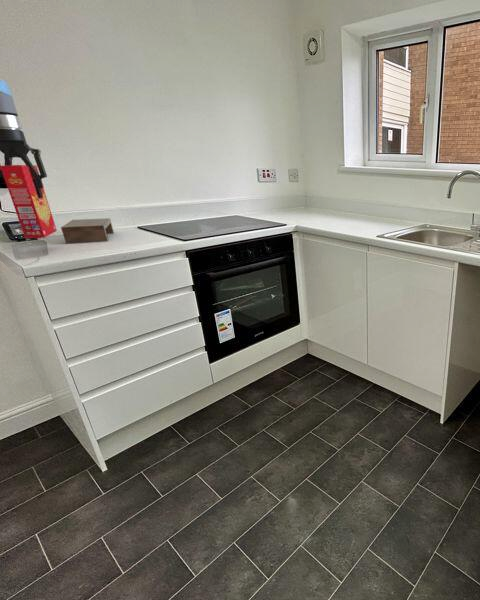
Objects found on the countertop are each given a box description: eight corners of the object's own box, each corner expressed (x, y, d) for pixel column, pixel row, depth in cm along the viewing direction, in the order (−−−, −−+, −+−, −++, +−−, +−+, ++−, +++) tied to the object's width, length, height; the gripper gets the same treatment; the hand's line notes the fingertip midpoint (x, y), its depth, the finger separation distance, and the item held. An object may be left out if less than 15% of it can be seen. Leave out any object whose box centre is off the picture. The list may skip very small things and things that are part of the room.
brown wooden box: (66, 243, 149) (60, 227, 146) (77, 234, 166) (72, 219, 164) (107, 241, 156) (103, 225, 153) (114, 232, 173) (110, 218, 171)
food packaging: (44, 237, 131) (21, 166, 122) (25, 238, 128) (-1, 165, 119) (56, 230, 143) (36, 165, 134) (39, 231, 140) (17, 164, 131)
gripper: (45, 131, 130) (65, 196, 138) (-27, 127, 121) (-2, 197, 129) (39, 130, 124) (60, 198, 132) (-37, 125, 115) (-10, 198, 123)
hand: (29, 197), depth 130 cm, fingers closed on food packaging, 5 cm apart
